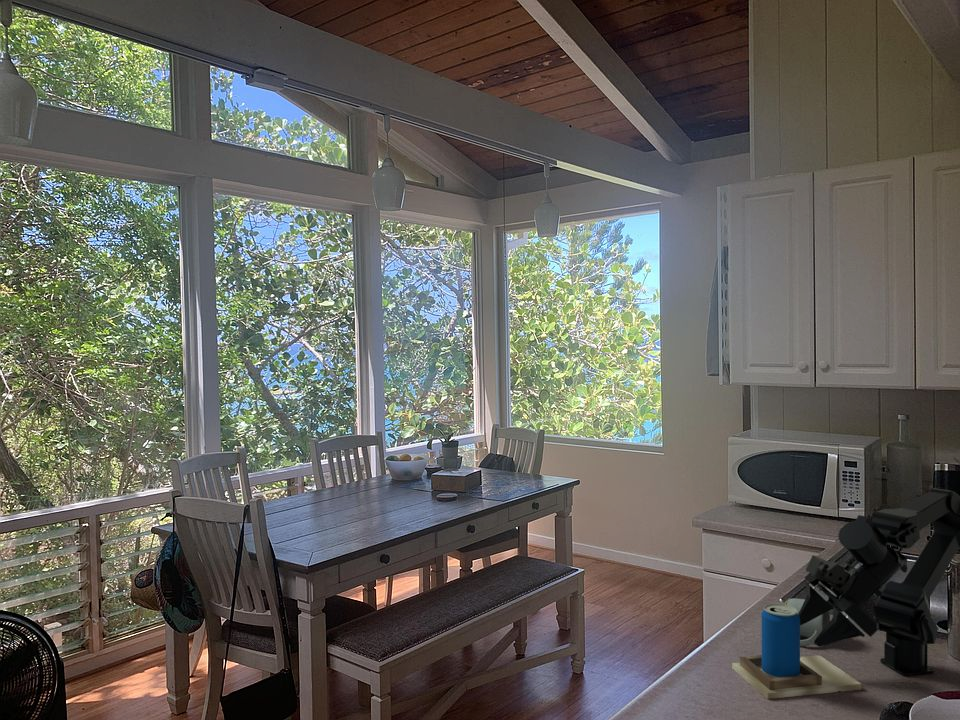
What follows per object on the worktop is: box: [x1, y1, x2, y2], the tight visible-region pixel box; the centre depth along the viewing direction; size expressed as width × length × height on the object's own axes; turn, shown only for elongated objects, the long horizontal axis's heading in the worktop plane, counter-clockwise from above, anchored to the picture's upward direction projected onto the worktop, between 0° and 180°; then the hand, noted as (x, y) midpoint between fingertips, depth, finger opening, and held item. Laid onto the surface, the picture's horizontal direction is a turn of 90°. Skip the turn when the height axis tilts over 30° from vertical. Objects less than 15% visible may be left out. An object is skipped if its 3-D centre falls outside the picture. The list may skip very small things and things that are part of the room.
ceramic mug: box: [784, 598, 831, 647], centre depth 152 cm, size 11×8×8 cm
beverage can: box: [760, 603, 801, 678], centre depth 133 cm, size 6×6×12 cm
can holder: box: [731, 654, 862, 700], centre depth 134 cm, size 18×12×2 cm, turn 100°
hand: (806, 633), depth 133 cm, fingers open, 9 cm apart
